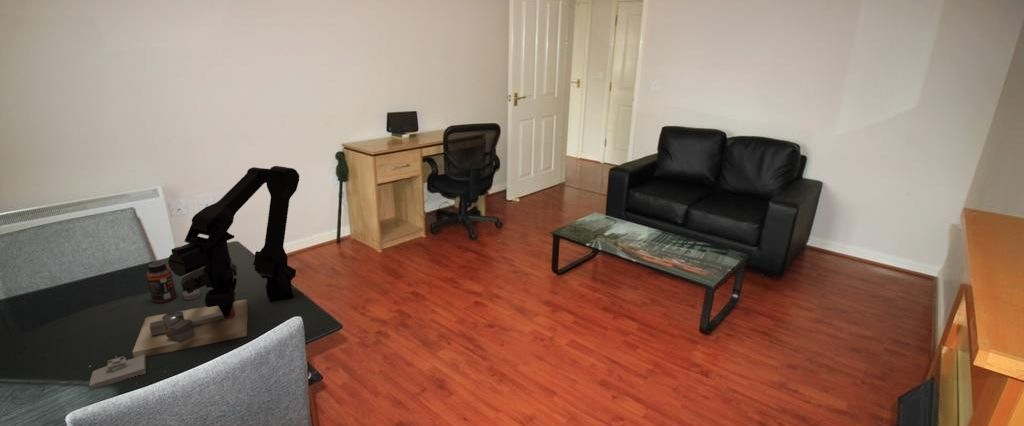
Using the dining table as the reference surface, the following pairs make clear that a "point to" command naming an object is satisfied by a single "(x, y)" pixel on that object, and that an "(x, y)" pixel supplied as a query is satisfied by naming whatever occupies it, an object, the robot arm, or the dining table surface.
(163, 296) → the supplement bottle
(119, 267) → the dining table surface
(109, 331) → the dining table surface
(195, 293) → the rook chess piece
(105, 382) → the beige platform
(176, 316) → the lever
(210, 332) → the base
